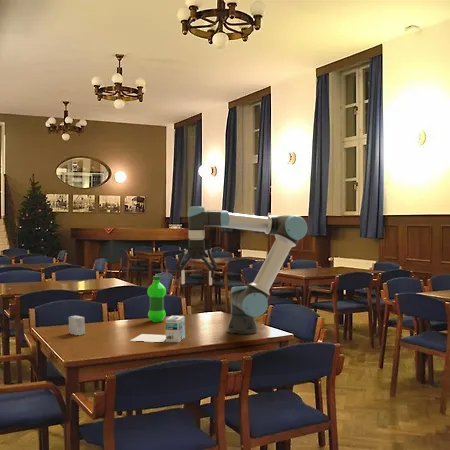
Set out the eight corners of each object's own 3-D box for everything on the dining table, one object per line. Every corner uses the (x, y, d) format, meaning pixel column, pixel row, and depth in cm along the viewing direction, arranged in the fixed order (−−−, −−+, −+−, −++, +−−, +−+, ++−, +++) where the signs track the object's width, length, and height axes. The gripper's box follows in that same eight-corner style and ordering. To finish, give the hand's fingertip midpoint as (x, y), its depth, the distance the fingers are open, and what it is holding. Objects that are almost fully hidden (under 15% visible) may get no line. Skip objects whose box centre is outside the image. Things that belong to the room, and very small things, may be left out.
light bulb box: (179, 342, 267) (179, 319, 267) (165, 342, 268) (165, 319, 268) (185, 337, 277) (185, 315, 277) (171, 337, 279) (171, 315, 278)
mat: (172, 336, 281) (172, 335, 281) (162, 342, 266) (162, 342, 266) (141, 334, 285) (141, 333, 285) (129, 341, 270) (129, 340, 270)
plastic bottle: (165, 322, 314) (165, 277, 314) (146, 322, 314) (145, 277, 314) (167, 319, 324) (167, 275, 324) (148, 319, 325) (148, 275, 324)
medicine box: (85, 334, 285) (84, 317, 285) (77, 336, 282) (77, 318, 281) (76, 332, 290) (76, 315, 290) (68, 333, 287) (68, 316, 287)
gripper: (224, 239, 270) (224, 284, 270) (174, 238, 276) (174, 282, 277) (220, 239, 263) (220, 286, 263) (168, 239, 269) (169, 284, 269)
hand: (196, 284), depth 270 cm, fingers open, 13 cm apart
